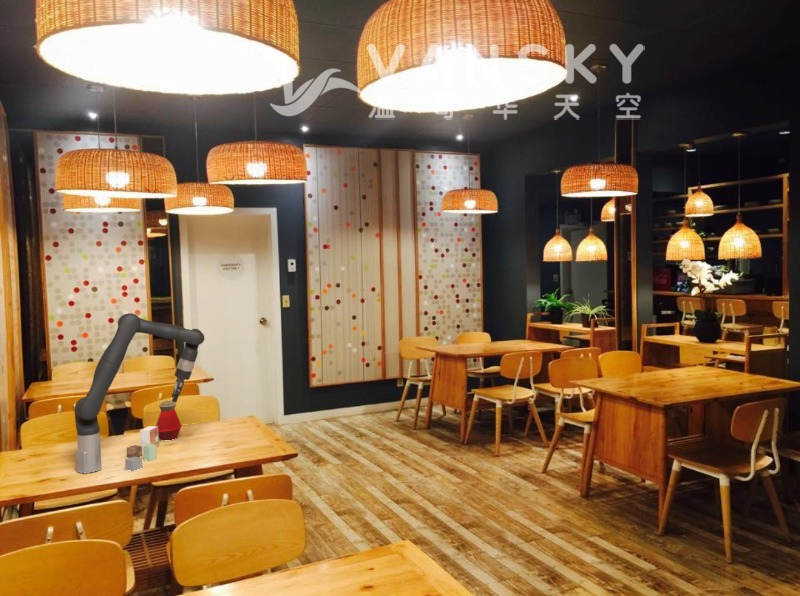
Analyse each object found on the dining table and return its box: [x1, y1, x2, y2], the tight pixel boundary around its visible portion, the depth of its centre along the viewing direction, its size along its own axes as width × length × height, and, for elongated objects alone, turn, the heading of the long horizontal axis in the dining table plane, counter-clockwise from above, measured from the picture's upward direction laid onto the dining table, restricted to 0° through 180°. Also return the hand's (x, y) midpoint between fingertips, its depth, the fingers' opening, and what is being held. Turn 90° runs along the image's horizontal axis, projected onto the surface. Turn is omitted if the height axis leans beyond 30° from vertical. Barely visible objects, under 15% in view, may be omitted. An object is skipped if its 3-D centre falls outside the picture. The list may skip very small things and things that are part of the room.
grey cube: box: [124, 457, 143, 472], centre depth 289 cm, size 5×5×5 cm
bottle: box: [155, 400, 182, 441], centre depth 339 cm, size 16×14×20 cm
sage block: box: [142, 444, 157, 462], centre depth 303 cm, size 4×4×7 cm
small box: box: [139, 425, 160, 451], centre depth 322 cm, size 8×6×10 cm
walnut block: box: [126, 444, 144, 459], centre depth 308 cm, size 5×5×5 cm
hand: (173, 399), depth 312 cm, fingers open, 8 cm apart
